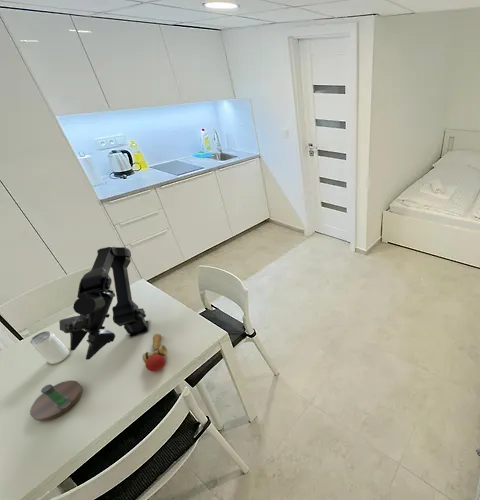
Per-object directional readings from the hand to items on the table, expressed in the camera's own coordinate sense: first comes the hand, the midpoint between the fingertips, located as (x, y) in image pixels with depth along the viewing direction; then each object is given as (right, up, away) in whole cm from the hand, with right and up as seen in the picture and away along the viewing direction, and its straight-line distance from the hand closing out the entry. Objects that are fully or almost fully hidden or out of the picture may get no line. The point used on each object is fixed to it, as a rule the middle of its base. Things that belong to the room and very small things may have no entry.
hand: (79, 354), depth 97 cm
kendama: (+17, -6, +15) cm, 23 cm away
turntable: (-7, -16, 0) cm, 17 cm away
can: (-22, -7, +15) cm, 28 cm away
